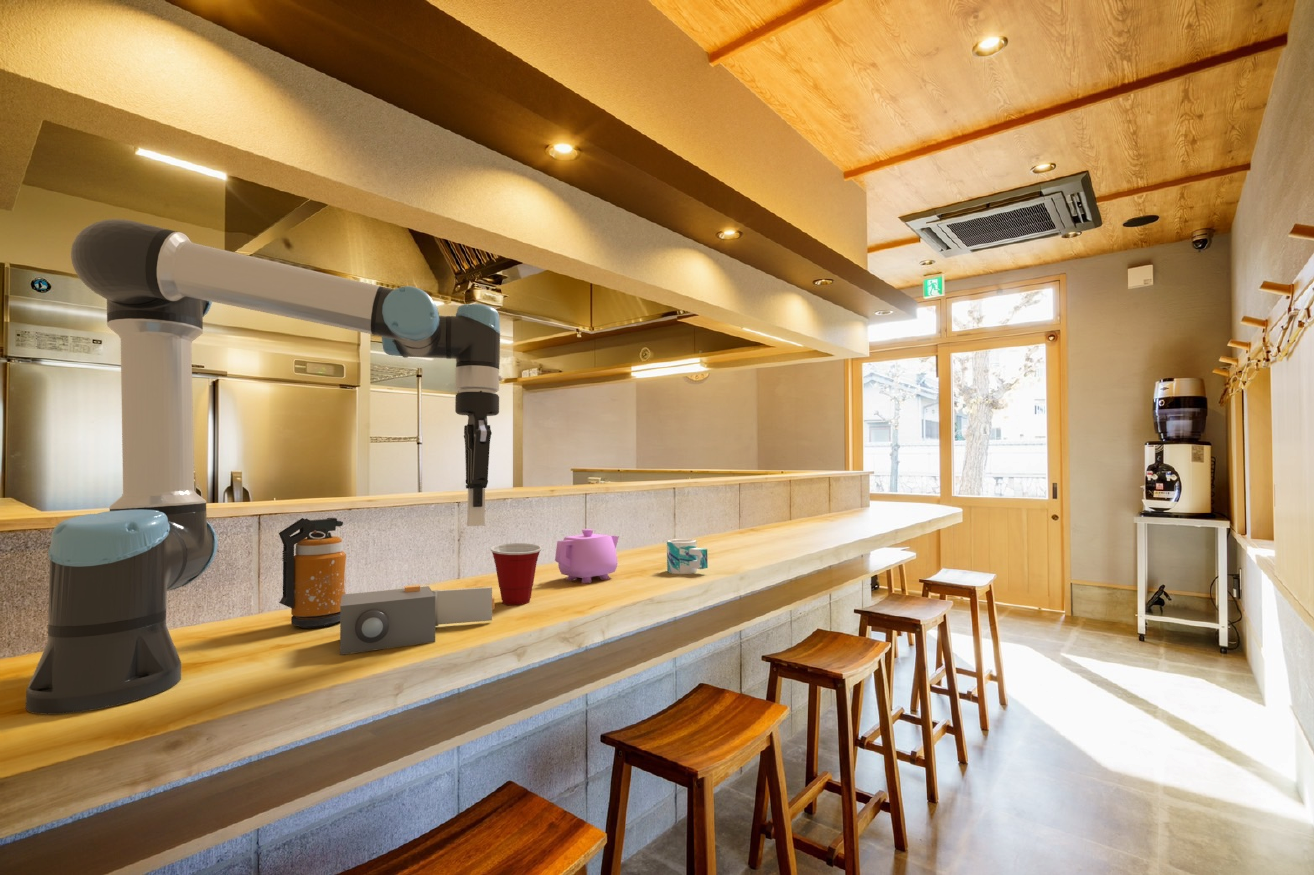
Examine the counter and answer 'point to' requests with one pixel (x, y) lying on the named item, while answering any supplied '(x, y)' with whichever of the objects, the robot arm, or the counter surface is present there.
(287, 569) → the canister
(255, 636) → the counter surface
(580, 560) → the teapot
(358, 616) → the camera body
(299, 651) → the counter surface
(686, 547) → the mug
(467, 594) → the side door
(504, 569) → the plastic cup
